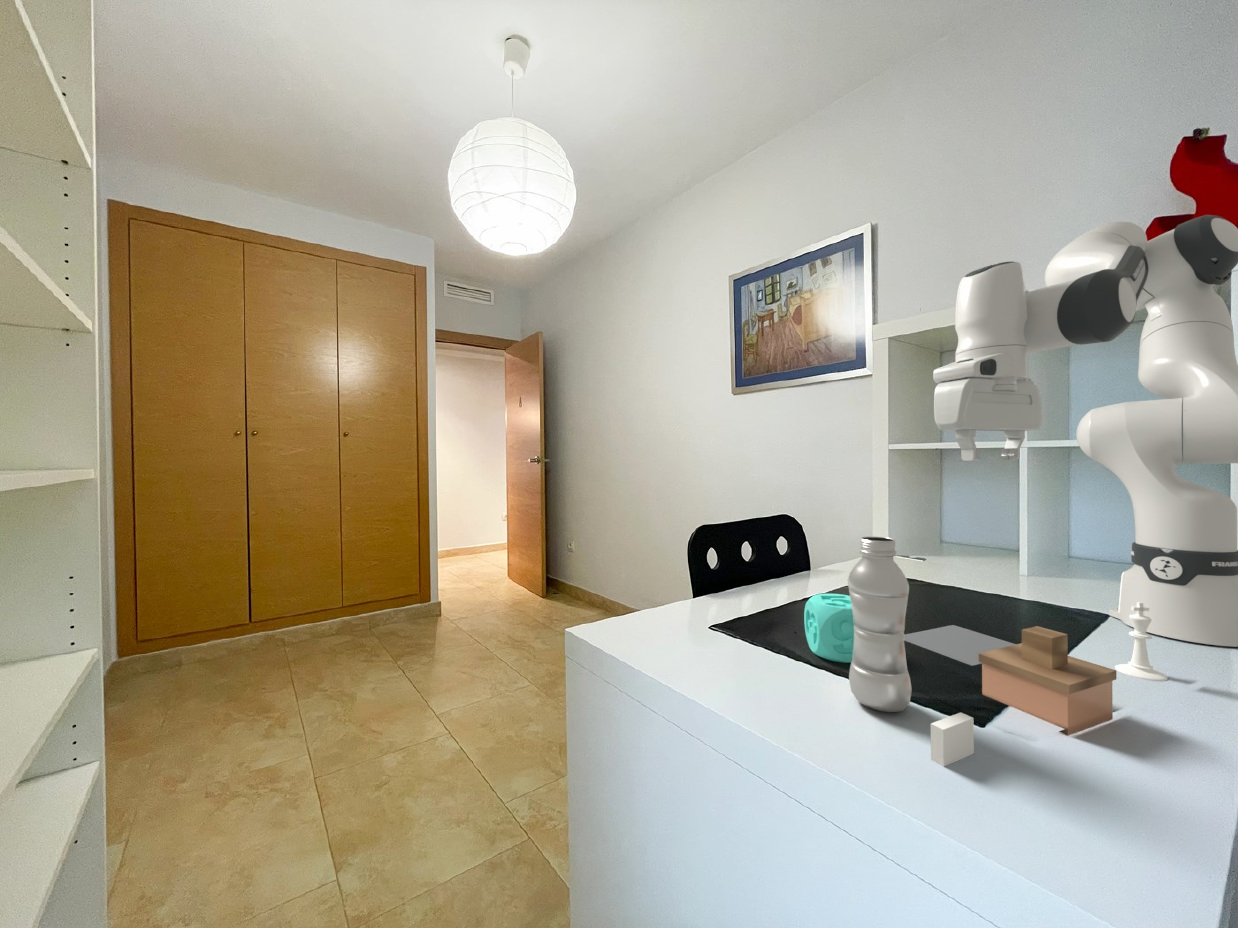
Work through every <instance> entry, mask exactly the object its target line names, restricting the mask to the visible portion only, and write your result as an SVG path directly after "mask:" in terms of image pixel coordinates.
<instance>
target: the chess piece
mask: <svg viewBox="0 0 1238 928" xmlns="http://www.w3.org/2000/svg"><path fill="white" fill-rule="evenodd" d="M1131 610H1134V611H1137V614H1133V615H1130V616H1129V618H1130V620H1131V622H1132V625H1133V627H1132V628H1133V629H1134V630H1133V631H1132V630H1131V631H1129V632H1128V636H1131V637H1133V638H1134V644H1133V651H1132V656H1131V660H1130V661H1127V663H1120V664H1116V665H1115V666H1114V670H1116V672H1119V673H1122V674H1124V675H1126V676H1129V677H1132V678H1136V679H1140V680H1145V681H1146V680H1147V681H1150V682H1151V681H1152V682H1166V681H1168V680H1169V679H1168V676H1167V675H1165V674H1164V673H1162V672H1160V671H1158V670H1156V669H1154V666H1153V665H1151V663H1150V661H1149V655H1148V648H1147V641H1146V640H1151V639H1153V637H1152V635H1151V634H1149V633H1148V632H1146V630H1147V629H1148V626H1149V624H1150V623H1151V618H1149V617H1147V616H1145V615H1143V611H1149V608H1148V607H1143V603H1142V602H1137V607H1134V606H1131Z"/></svg>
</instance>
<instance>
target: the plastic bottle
mask: <svg viewBox="0 0 1238 928" xmlns="http://www.w3.org/2000/svg"><path fill="white" fill-rule="evenodd" d="M859 554H861V558H860V559H859V561H857V563H855V565H854V567H852V568H851V571H850V572H849V574H848V577H847V587H848V592H849V596H850V599H851V605H852V613H853V623H854V626H853V627H854V642H853V656H852V662H851V663H850V667H849V671H848V672H849V674H848V680H849V685H850V690H851V692H852V694H853V696H854V697H855V699H856V700H857V701H858V702H859V703H860V704H862V705H863V706H865V707H867V708H870V709H873V710H875V711H880V712H887V713H899V712H902V711H904V710H905V709H906V708H907V706H908V705H910V703H911V697H912V690H913V689H912V683H911V677H910V674H909V670H908V665H907V656H906V646H905V641H904V635H905V630H906V629H905V627H906V616H907V615H906V613H907V607H908V602H909V601H908V599H909V593H910V585H909V582H908V579H907V576H906V575H905V573H904V572H903V571H902V569H901V568H900V567H899V566H898V565H899V564H897V562H895V560H894V557H896V556H897V551H896V539H894V538H891V537H885V536H884V537H883V536H862V537H860V548H859Z"/></svg>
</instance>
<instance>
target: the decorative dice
mask: <svg viewBox="0 0 1238 928" xmlns="http://www.w3.org/2000/svg"><path fill="white" fill-rule="evenodd" d="M803 611H804V612H803V613H804V614H803V615H804V617H803V618H804V619H803V620H804V621H803V623H804V631H805V637H806V641H807V644H808V647H809V648H810V650H811V652H812V653H813V654H815V655H816V656H817V657H819V658H823V659H825V660H828V661H831V662H837V663H848V664H849V663H850V664H851V662H852V656H853V642H854V627H853V626H854V623H853V613H852V605H851V599H850V595H847V594H840V593H819V594H815V595H812V596H811V597H810V598H809V599H808V600H807V601H806V603H805V605H804V610H803Z"/></svg>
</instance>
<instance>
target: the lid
mask: <svg viewBox="0 0 1238 928" xmlns="http://www.w3.org/2000/svg"><path fill="white" fill-rule="evenodd" d="M1068 640H1069V639H1068V634H1067V633H1064V632H1061V631H1060V632H1059V631H1056V630H1053V629H1050V628H1049V629H1048V628H1047V627H1041V626H1038V625H1035V626H1033V627H1027V628H1023V629H1021V643H1017V644H1016V643H1015V644H1016V645H1012V646H1008V647H1004V648H1000V649H995V650H991V651H987V652H983V653H979V662H981V663H984V664H986V665H989V666H992V667H995V668H998V669H1000V670H1003V671H1006V672H1009V673H1011V674H1014V675H1017V676H1020V677H1022V678H1025V679H1028V680H1031V681H1033V682H1036V683H1039V684H1042V685H1044V686H1047V687H1050V688H1053V689H1055V690H1058V691H1061V692H1064V693H1066V694H1072V693H1075V692H1079V691H1082V690H1085V689H1088V688H1091V687H1094V686H1097V685H1100V684H1104V683H1107V682H1110V681H1112V682H1113V681H1115V680H1116V681H1117V670H1116V669H1113V668H1109V667H1107V666H1103V665H1099V664H1097V663H1094V662H1093V663H1092V662H1089V661H1087V660H1085V659H1084V660H1083V659H1080V658H1077V657H1074V656H1070V655H1068Z"/></svg>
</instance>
